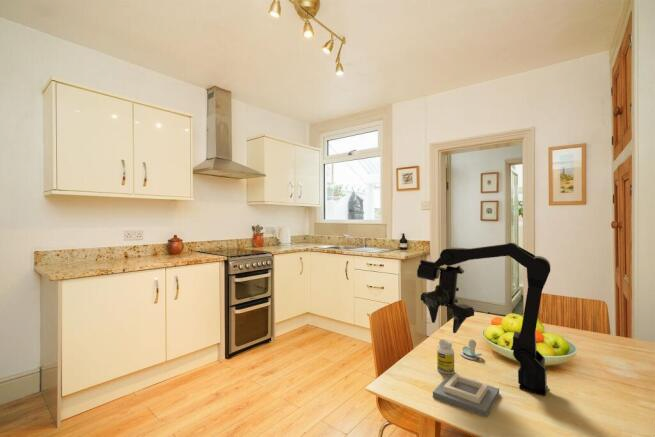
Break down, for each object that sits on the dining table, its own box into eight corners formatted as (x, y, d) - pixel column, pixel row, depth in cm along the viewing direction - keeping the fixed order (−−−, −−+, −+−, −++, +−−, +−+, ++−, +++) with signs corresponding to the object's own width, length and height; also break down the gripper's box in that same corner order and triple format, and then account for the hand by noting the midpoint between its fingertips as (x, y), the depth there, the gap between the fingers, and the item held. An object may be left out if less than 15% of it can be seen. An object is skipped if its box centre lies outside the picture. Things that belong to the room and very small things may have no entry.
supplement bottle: (436, 372, 102) (435, 342, 102) (438, 365, 107) (438, 337, 107) (453, 376, 100) (453, 345, 100) (455, 368, 104) (454, 340, 105)
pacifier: (472, 362, 109) (484, 359, 112) (471, 345, 109) (483, 342, 112) (456, 354, 116) (468, 351, 118) (456, 338, 116) (468, 335, 118)
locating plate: (499, 393, 89) (499, 383, 89) (486, 417, 79) (485, 405, 79) (450, 378, 98) (450, 368, 98) (432, 397, 88) (432, 386, 88)
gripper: (411, 278, 111) (407, 320, 112) (454, 293, 94) (449, 342, 95) (433, 276, 116) (429, 317, 117) (477, 290, 100) (472, 337, 100)
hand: (443, 327), depth 107 cm, fingers open, 9 cm apart
